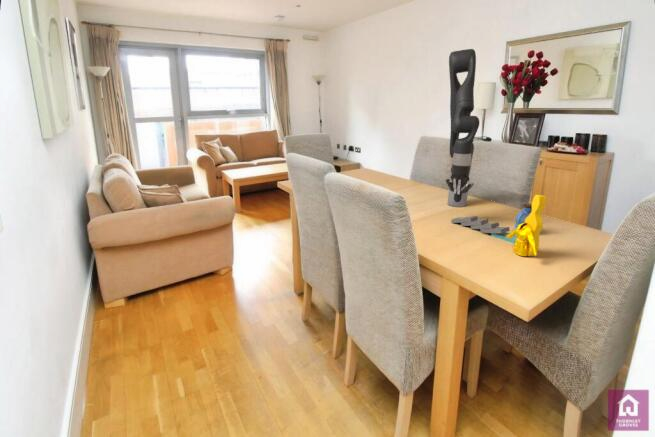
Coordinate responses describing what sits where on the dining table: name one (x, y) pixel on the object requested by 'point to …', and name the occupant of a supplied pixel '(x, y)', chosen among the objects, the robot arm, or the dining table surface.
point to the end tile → (504, 237)
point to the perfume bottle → (523, 214)
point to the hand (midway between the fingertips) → (457, 201)
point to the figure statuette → (529, 230)
